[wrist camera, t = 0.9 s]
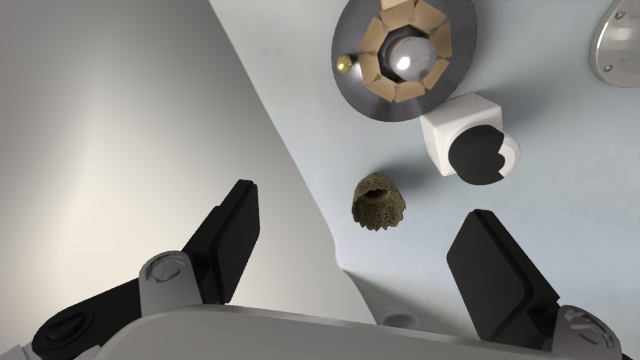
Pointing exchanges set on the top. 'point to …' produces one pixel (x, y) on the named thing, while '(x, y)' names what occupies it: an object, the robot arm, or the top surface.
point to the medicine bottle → (470, 140)
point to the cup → (377, 203)
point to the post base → (416, 104)
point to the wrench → (395, 15)
